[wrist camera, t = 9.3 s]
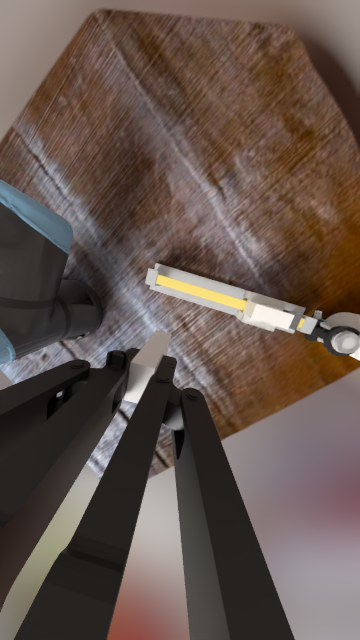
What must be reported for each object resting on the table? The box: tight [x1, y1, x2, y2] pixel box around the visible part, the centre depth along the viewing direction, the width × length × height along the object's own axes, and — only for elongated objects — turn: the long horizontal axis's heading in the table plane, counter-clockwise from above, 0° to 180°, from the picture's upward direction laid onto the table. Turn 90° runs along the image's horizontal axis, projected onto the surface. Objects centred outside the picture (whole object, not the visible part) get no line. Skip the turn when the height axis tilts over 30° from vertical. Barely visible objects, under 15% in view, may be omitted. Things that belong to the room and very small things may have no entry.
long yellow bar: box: [156, 274, 305, 330], centre depth 34 cm, size 32×3×3 cm, turn 74°
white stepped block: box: [236, 291, 295, 332], centre depth 31 cm, size 6×6×10 cm
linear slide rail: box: [145, 263, 318, 334], centre depth 36 cm, size 34×6×7 cm, turn 74°
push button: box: [305, 311, 360, 356], centre depth 33 cm, size 7×5×10 cm
